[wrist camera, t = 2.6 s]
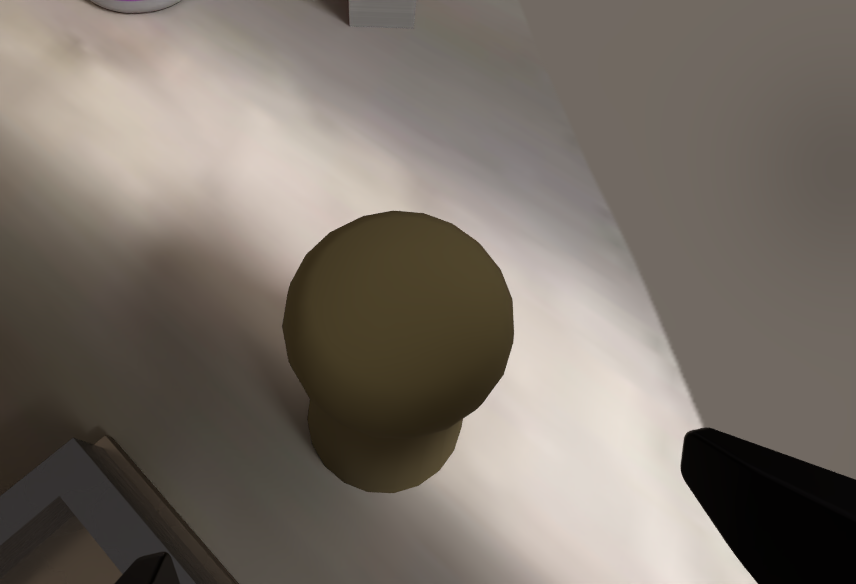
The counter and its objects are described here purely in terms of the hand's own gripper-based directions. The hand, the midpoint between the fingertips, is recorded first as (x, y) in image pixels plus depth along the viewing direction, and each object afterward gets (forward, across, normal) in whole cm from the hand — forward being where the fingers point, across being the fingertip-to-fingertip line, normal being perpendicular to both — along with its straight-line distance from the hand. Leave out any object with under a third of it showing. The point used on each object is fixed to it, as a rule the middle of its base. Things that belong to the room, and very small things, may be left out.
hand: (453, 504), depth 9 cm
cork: (+11, 0, +5) cm, 12 cm away
